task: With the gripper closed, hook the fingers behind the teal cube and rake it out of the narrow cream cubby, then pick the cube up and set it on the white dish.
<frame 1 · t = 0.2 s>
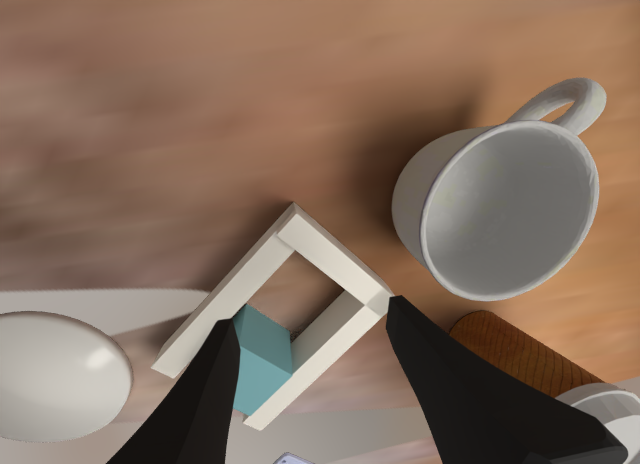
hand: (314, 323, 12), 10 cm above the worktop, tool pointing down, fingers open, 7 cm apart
cubby: (276, 310, 23), on the worktop
disposable coffee cup: (472, 333, 28), on the worktop
cube: (251, 335, 24), on the worktop
dish: (47, 376, 22), on the worktop
teacup: (446, 179, 22), on the worktop
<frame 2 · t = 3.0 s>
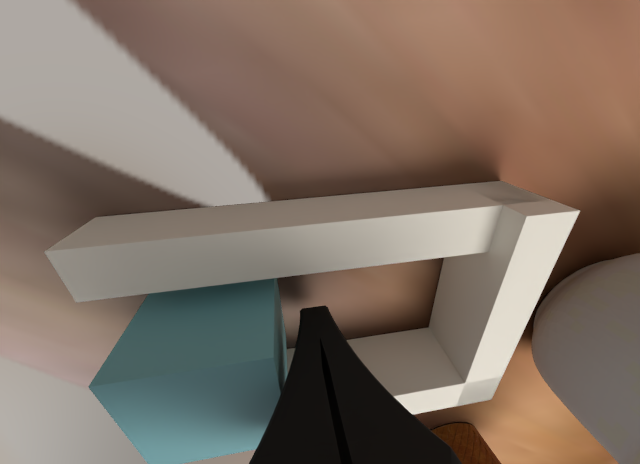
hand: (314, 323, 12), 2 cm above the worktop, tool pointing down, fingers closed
cubby: (321, 297, 13), on the worktop
disposable coffee cup: (441, 438, 24), on the worktop
cube: (230, 309, 13), on the worktop, touching gripper
teacup: (598, 292, 17), on the worktop
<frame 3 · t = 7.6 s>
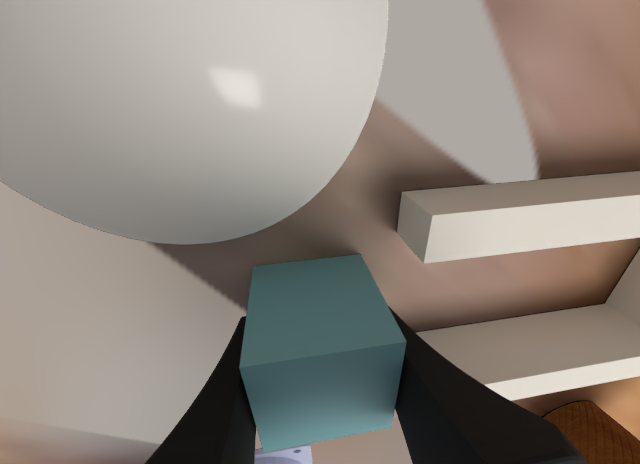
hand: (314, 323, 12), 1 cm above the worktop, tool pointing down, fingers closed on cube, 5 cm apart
cubby: (534, 272, 15), on the worktop
disposable coffee cup: (560, 417, 25), on the worktop
cube: (310, 300, 13), on the worktop, touching gripper
dish: (161, 34, 8), on the worktop
when the fingers open (4 cm above the worktop, at t = 11.3 s): cube drops 1 cm, resting on dish.
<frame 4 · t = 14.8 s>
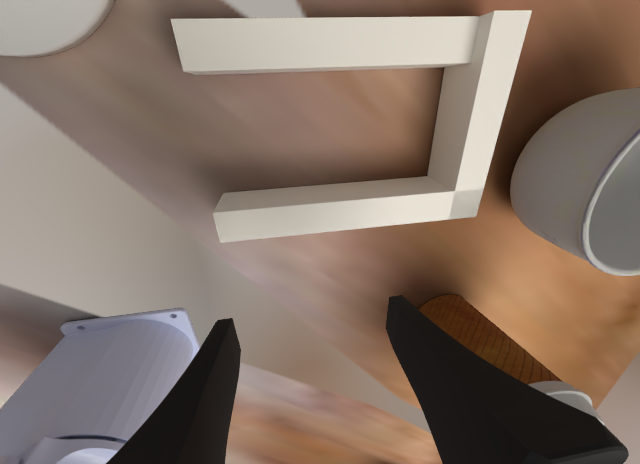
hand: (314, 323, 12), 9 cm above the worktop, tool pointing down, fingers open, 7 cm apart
cubby: (343, 132, 17), on the worktop
disposable coffee cup: (438, 315, 28), on the worktop
teacup: (565, 157, 21), on the worktop
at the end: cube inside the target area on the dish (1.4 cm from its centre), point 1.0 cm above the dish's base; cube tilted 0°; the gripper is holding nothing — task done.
